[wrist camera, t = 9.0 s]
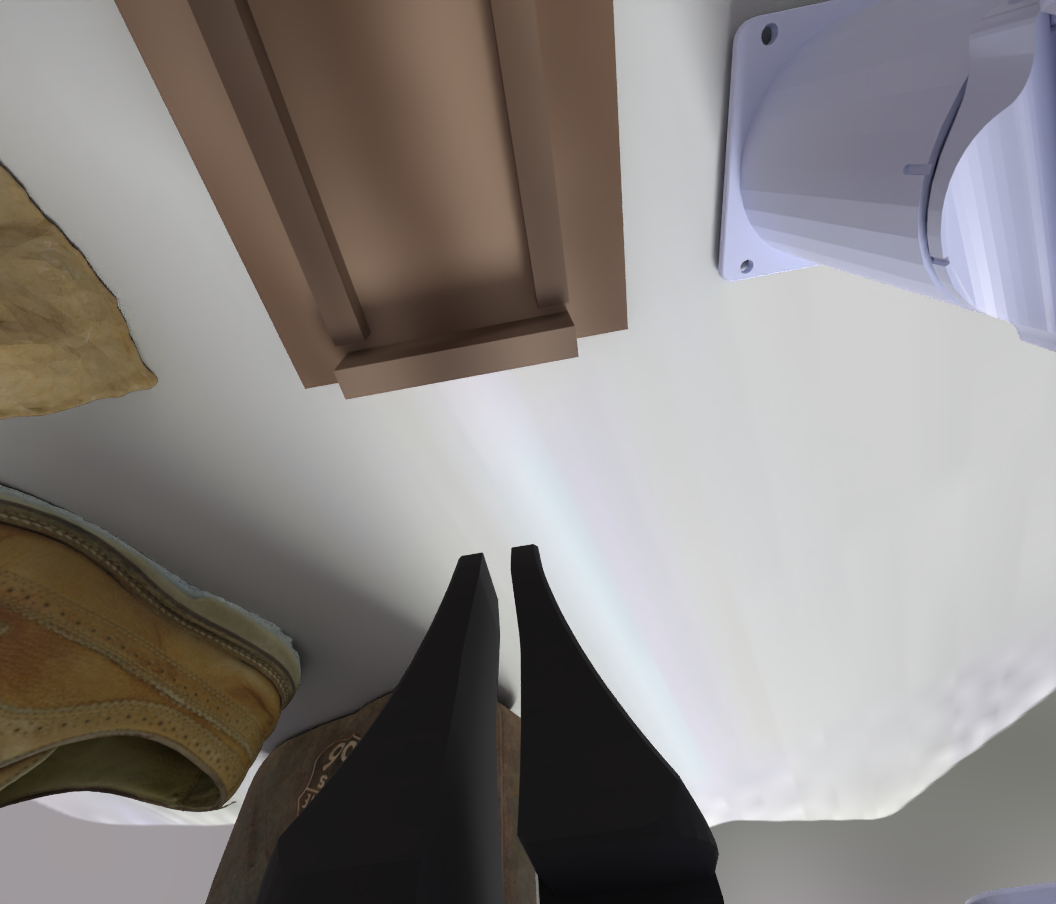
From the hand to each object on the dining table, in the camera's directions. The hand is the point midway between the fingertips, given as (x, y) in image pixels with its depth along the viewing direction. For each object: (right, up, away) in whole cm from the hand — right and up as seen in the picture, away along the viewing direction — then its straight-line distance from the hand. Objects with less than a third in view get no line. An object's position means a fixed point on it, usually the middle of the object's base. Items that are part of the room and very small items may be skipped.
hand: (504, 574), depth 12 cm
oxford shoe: (-25, -4, +14) cm, 29 cm away
